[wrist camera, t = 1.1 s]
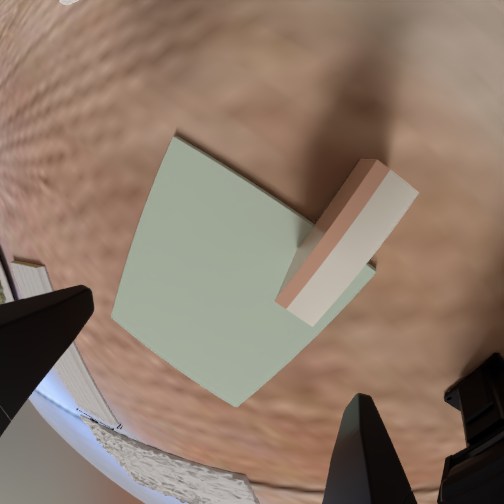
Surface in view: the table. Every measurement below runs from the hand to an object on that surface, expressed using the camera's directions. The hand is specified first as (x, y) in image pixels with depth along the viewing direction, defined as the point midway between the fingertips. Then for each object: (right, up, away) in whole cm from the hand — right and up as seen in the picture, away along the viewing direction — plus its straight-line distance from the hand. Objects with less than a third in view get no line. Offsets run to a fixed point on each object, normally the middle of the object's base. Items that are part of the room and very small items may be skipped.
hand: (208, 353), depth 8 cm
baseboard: (-27, -13, +30) cm, 43 cm away
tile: (+7, +5, +9) cm, 12 cm away
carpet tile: (-15, -45, +40) cm, 63 cm away
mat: (-2, -1, +15) cm, 15 cm away
